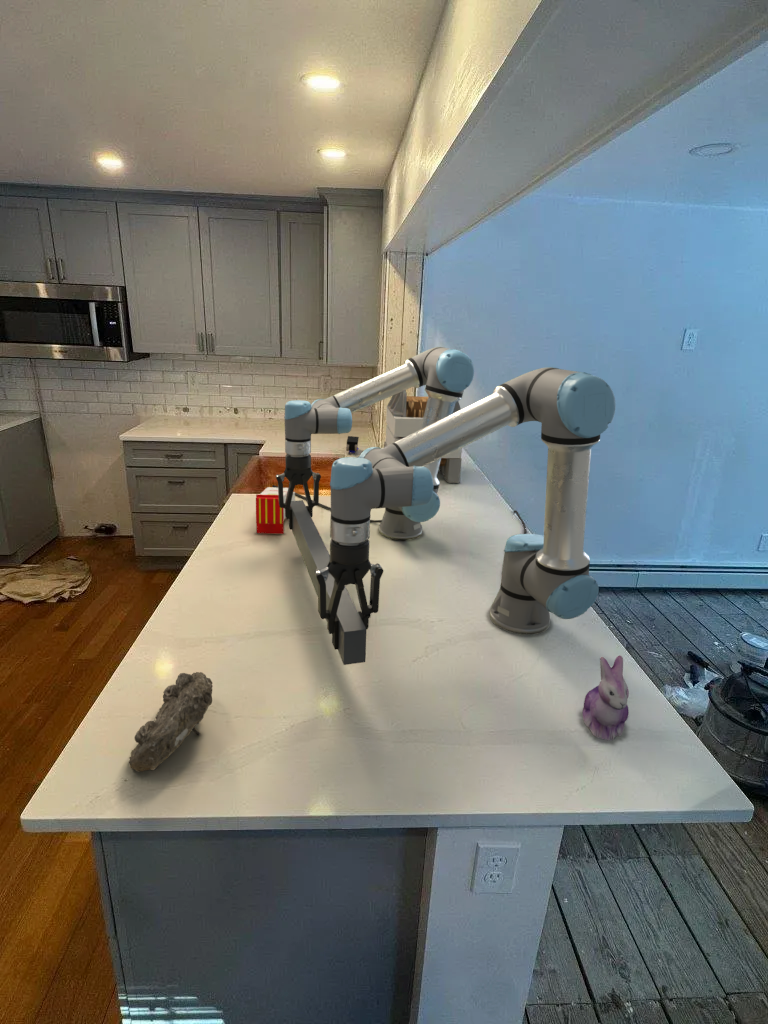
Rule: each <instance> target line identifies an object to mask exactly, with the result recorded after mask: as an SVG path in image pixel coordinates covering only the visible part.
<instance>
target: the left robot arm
mask: <svg viewBox="0 0 768 1024" xmlns="http://www.w3.org/2000/svg"><path fill="white" fill-rule="evenodd" d="M474 377H475V365H474V363H473V361H472V359H471V358H470V356H469V355H468V354H467V353H465V352H463V351H461V350H459V349H457V348H456V349H455V348H449V347H445V346H436V347H432V348H429V349H427V350H424V351H421V352H420V353H417V354H416V355H414V356H412V357H409V358H407V359H405V360H404V363H403V364H401V365H399V366H397V367H395V368H392V369H391V370H390V369H389V370H387V371H386V372H384V373H381V374H379V375H377V376H375V377H372V378H370V379H368V380H366V381H363V382H361V383H358V384H356V385H353V386H352V387H349V388H347V389H345V390H343V391H339V392H338V393H336V394H334V395H331V396H329V397H326V398H318V399H315V400H313V402H312V403H311V402H310V401H308V400H299V399H294V400H289V401H286V403H285V405H284V417H283V418H284V441H285V442H284V453H285V458H284V461H285V468H284V471H283V473H281V474H279V473H278V474H276V475H275V479H276V481H277V485H274V484H273V485H271V486H272V487H276V488H278V497H279V506H280V508H285V517H286V518H285V520H288V528H289V530H290V531H292V508H291V507H290V504H291V500H292V496H293V492H295V489H296V488H295V487H296V486H299V485H300V486H302V488H303V491H304V495H305V496H304V495H302V494H300V493H297V492H295V497H299V498H301V499H302V500H306V504H307V505H305V506H306V508H307V510H308V512H309V514H310V516H311V518H313V515H314V513H313V512H314V511H313V509H314V507H318V506H319V507H321V508H324V509H326V510H329V511H331V506H327V505H325V504H323V503H320V502H319V501H320V481H321V479H322V475H321V473H319V472H314V471H313V469H312V455H311V453H312V435H342V434H349V433H350V432H351V431H352V427H353V415H352V414H354V413H356V412H359V411H361V410H363V409H366V408H368V407H371V406H373V405H375V404H377V403H380V402H382V401H383V400H386V399H388V398H390V397H391V398H392V396H393V395H395V394H397V393H400V392H402V391H404V390H406V391H407V390H408V389H411V388H415V389H419V388H421V387H424V391H425V392H426V394H427V397H428V400H427V404H426V409H425V413H424V417H423V421H422V425H421V429H423V428H425V427H427V426H429V425H431V424H433V423H435V422H437V421H439V420H441V419H443V418H445V417H447V416H449V415H451V414H453V411H454V407H455V403H456V402H457V401H458V402H459V401H461V400H462V399H463V396H464V393H465V392H464V391H465V390H467V388H469V387H470V386H471V384H472V382H473V381H474ZM421 429H420V430H421ZM440 461H441V458H440V459H438V460H436V461H434V462H432V463H430V464H428V465H426V466H424V467H426V468H428V469H429V471H430V472H431V475H432V478H433V485H434V487H433V495H432V498H431V500H430V501H429V502H428V503H427V504H423V505H417V506H413V507H411V506H406V507H391V508H384V513H383V515H382V519H376V520H375V519H370V523H373V524H378V523H379V527H378V533H379V534H380V535H381V536H382V537H385V538H387V539H389V540H395V541H410V540H415V539H418V538H420V537H421V536H422V535H423V525H422V524H421V523H424V522H428V521H429V520H432V519H433V518H434V517H435V516H436V515H437V513H438V512H439V510H440V506H441V499H440V496H439V495H438V493H439V488H440V484H441V482H440V480H439V479H438V472H439V465H440ZM311 477H312V479H313V496H311V492H310V489H309V483H308V481H309V480H310V479H311ZM285 478H286V479H287V480H288V487H287V488H288V492H287V497H286V501H285V503H284V499H283V488H284V483H283V482H284V481H285ZM312 497H313V499H312Z"/></svg>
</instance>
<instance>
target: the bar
mask: <svg viewBox="0 0 768 1024" xmlns="http://www.w3.org/2000/svg"><path fill="white" fill-rule="evenodd" d="M306 506H307V505H306V504H305V501H304V499H302V500H295V501H291V504H290V507H291V508H292V530H291V531H292V534H293V537H294V539H295V541H296V544H297V547H298V549H299V553H300V555H301V557H302V560H303V563H304V566H305V568H306V570H307V573H308V576H309V578H310V581H311V584H312V586H313V588H314V591H315V593H316V597H317V598H318V580H317V578H316V575H315V573H314V571H315V570H316V569H320V570H322V569H324V568H326V567H327V565H328V563H329V561H330V551H329V550H328V548H327V546H326V544H325V543H324V540H323V538H322V536H321V534H320V532H319V529H317V526H316V524H315V522H314V520H313V517H311V516H310V514H309V512H308V510H307V508H306ZM334 580H335V579H334V577H333V576H332V575H331V574H328V579H327V580H326V581H325V583H326V610H328V606H329V602H330V598H331V594H332V591H333V587H334ZM358 612H359V610H358V609H357V607H356V605H355V603H354V601H353V599H352V596H351V595H350V593H349V590H348V589H347V587H346V586H345V587H344V590H343V591H342V595H341V598H340V602H339V606H338V610H337V614H336V615H337V618H338V620H339V645H338V649H337V651H338V654H339V657H340V660H341V662H342V664H343V665H342V666H346V665H354V664H361V663H365V662H366V656H367V655H366V654H367V653H366V651H367V630H368V629H366V627H365V625H364V623H363V621H362V619H361V617H360V615H359V613H358ZM325 620H326V621H327V619H325Z"/></svg>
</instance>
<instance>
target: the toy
mask: <svg viewBox="0 0 768 1024" xmlns="http://www.w3.org/2000/svg"><path fill="white" fill-rule="evenodd" d="M288 488H289V487H283V499H284V503H285V501H286V497H287V492H288ZM295 493H296V492H295V491H293V496H292V500H291V501H296V495H295ZM285 520H286V517H285V508H280V506H279V497H278V488H276V487H270V486H268V487H266V488H265V489H264V490H262V491H261V492H260V494H256V495H255V523H256V534H270V535H271V534H274V535H283V534H284V533H285V532H284V531H285V530H284V528H285V527H284V525H285V524H284V521H285Z"/></svg>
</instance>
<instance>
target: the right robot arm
mask: <svg viewBox="0 0 768 1024" xmlns="http://www.w3.org/2000/svg"><path fill="white" fill-rule="evenodd" d="M616 405H617V404H616V398H615V393H614V391H613V389H612V387H611V386H610V385H609V384H608V382H606V380H605V379H603V378H601V377H600V376H597V375H593V374H591V373H587V372H584V371H576V370H569V369H562V368H558V367H553V366H552V367H551V366H549V367H540V368H537V369H534V370H530V371H528V372H525V373H523V374H520V375H518V376H516V377H513V378H512V379H509V380H508V381H505V382H503V383H502V384H499V385H497V386H496V387H494V388H493V391H492V394H490V395H488V396H486V397H483V398H482V399H479V400H477V401H475V402H473V403H472V404H469V405H468V406H465V407H463V408H461V410H459V411H457V412H455V413H453V414H451V415H449V416H447V417H445V418H443V419H441V420H439V421H437V422H435V423H433V424H431V425H429V426H427V427H425V428H423V429H421V430H419V431H417V432H415V433H413V434H411V435H409V436H407V437H404V438H402V439H400V440H398V441H396V442H394V443H392V444H390V445H388V446H386V447H384V446H383V447H378V446H371V447H367V448H366V449H364V450H363V451H362V452H361V453H360V454H359V456H358V457H357V456H356V457H355V456H345V457H339V458H337V459H336V460H334V461H333V463H332V465H331V469H330V482H329V486H330V508H331V510H330V523H329V524H330V525H329V528H330V529H329V533H330V534H329V537H330V538H331V539H330V541H329V554H330V561H329V563H328V565H327V567H326V568H324V569H322V570H320V569H316V570H315V571H314V573H315V575H316V578H317V580H318V597H317V612H318V615H319V617H320V618H319V619H321V620H326V619H327V620H326V624H327V625H326V626H327V627H326V628H327V631H328V634H329V635H331V643H332V644H331V645H332V646H333V648H334V650H338V645H339V620H338V618H337V615H336V614H337V610H338V606H339V602H340V598H341V595H342V591H343V590H344V587H346V586H348V585H354V586H355V590H356V594H357V598H358V603H359V607H360V611H358V613H359V615H360V617H361V619H362V621H363V623H364V625H365V627H366V629H367V630H368V629H369V627H370V626H369V622H370V621H369V620H370V618H371V614H377V613H378V612H379V607H380V606H379V603H380V588H381V587H380V586H381V578H382V576H383V574H384V569H383V567H382V565H381V564H380V563H375V564H374V563H371V561H370V540H369V539H370V536H371V528H370V527H371V522H370V520H371V511H372V510H373V509H376V510H377V509H385V508H391V507H406V506H411V507H413V506H417V505H423V504H427V503H428V502H429V501H430V500H431V498H432V495H433V487H434V485H433V478H432V475H431V472H430V471H429V469H428V468H426V467H424V466H426V465H428V464H430V463H432V462H434V461H436V460H438V459H440V458H442V457H444V456H446V455H448V454H450V453H452V452H454V451H456V450H458V449H460V448H462V449H463V448H465V447H466V446H469V445H471V444H473V443H474V442H476V441H478V440H480V439H482V438H485V437H487V436H489V435H491V434H493V433H494V432H497V431H498V430H500V429H503V428H504V427H507V426H508V427H510V428H515V427H517V426H520V425H521V424H523V423H528V422H539V423H541V427H540V428H541V430H540V440H541V441H542V442H543V444H545V445H546V446H547V459H546V460H547V462H546V463H547V465H546V480H545V482H546V483H545V502H544V503H545V504H544V520H543V524H544V525H543V535H542V534H538V533H537V534H536V533H527V527H526V523H525V522H524V520H523V518H522V517H521V515H520V514H519V512H518V511H517V510H515V509H514V510H513V512H512V513H513V514H516V516H517V518H518V519H519V520H520V523H521V524H522V526H523V531H524V533H517V534H514V535H511V536H509V537H508V538H507V539H506V541H505V546H504V549H503V559H502V560H503V561H502V570H501V576H500V577H501V578H500V586H499V589H498V592H497V594H496V595H495V597H494V600H493V601H492V604H491V606H490V608H489V619H490V621H491V622H492V623H493V624H494V625H495V626H496V627H498V628H500V629H501V630H504V631H506V632H508V633H513V634H517V635H524V636H526V635H527V636H529V635H532V636H533V635H539V634H541V633H544V632H546V631H547V630H548V629H549V627H550V624H551V623H550V622H551V614H553V615H555V616H556V617H557V618H560V619H563V620H570V619H571V620H572V619H575V618H578V617H580V616H582V615H583V614H585V613H586V612H587V611H588V610H589V609H590V608H591V607H592V606H593V605H594V603H595V602H596V601H597V598H598V596H599V589H600V588H599V584H598V582H597V580H596V579H595V577H593V576H592V575H590V563H591V559H590V556H589V554H588V553H586V552H585V551H584V546H585V536H586V535H585V533H586V521H587V510H588V509H587V508H588V507H587V506H588V496H589V484H590V483H589V482H590V481H589V480H590V470H591V458H592V448H593V447H594V446H596V445H597V444H598V443H599V442H600V441H601V435H602V434H603V433H605V432H606V431H607V429H608V428H609V424H612V422H613V420H614V417H615V415H616V414H615V413H616ZM525 528H526V529H525ZM368 573H369V574H370V587H369V603H368V601H367V596H366V591H365V585H364V580H363V579H364V578H365V577H366V575H367V574H368ZM328 574H331V575H332V576H333V577H334V579H335V580H334V587H333V591H332V594H331V598H330V602H329V606H328V610H326V583H325V581H326V580H327V579H328Z"/></svg>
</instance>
